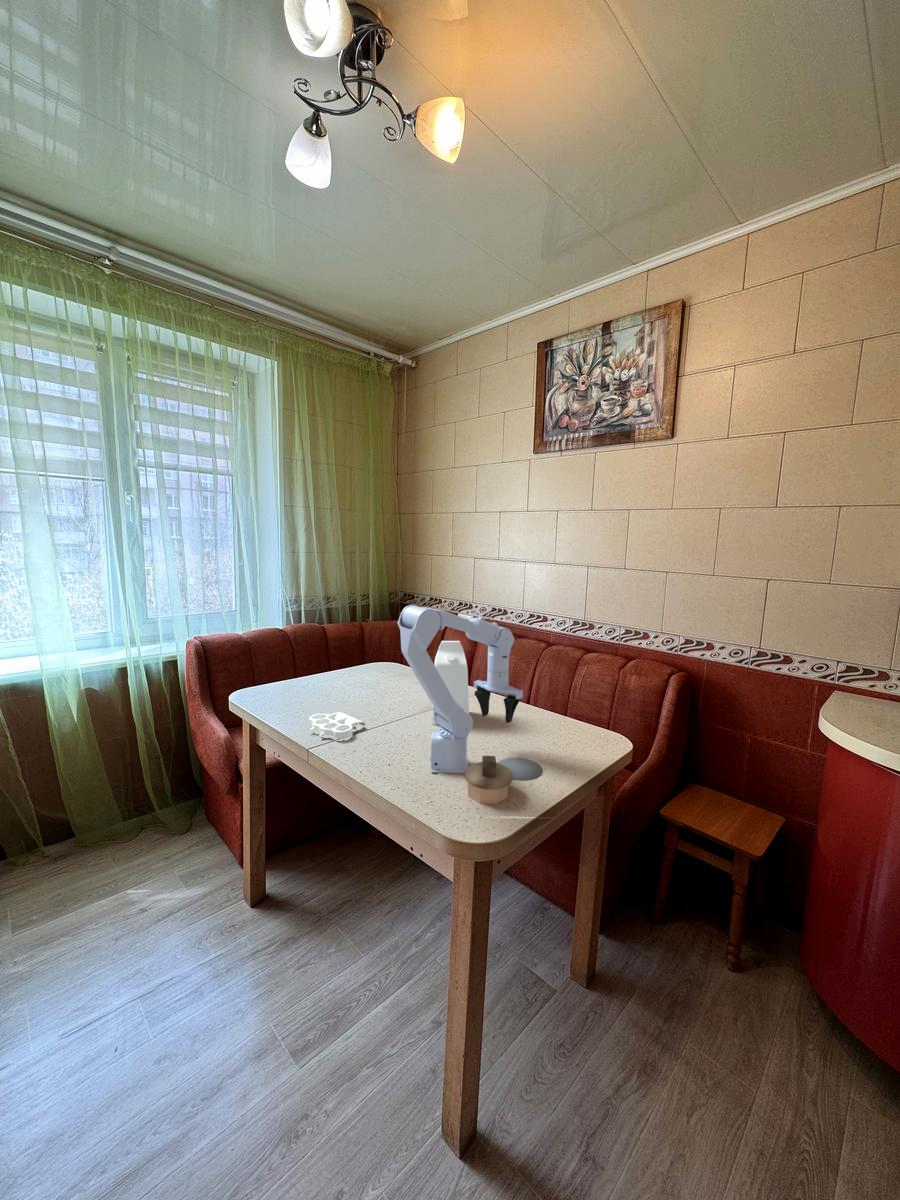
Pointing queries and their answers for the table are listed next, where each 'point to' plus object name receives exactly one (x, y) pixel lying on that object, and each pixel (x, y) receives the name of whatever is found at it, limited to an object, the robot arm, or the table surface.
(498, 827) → the table surface
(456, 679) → the milk
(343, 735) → the white holed plate
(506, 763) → the mat
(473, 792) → the bowl
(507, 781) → the lid
